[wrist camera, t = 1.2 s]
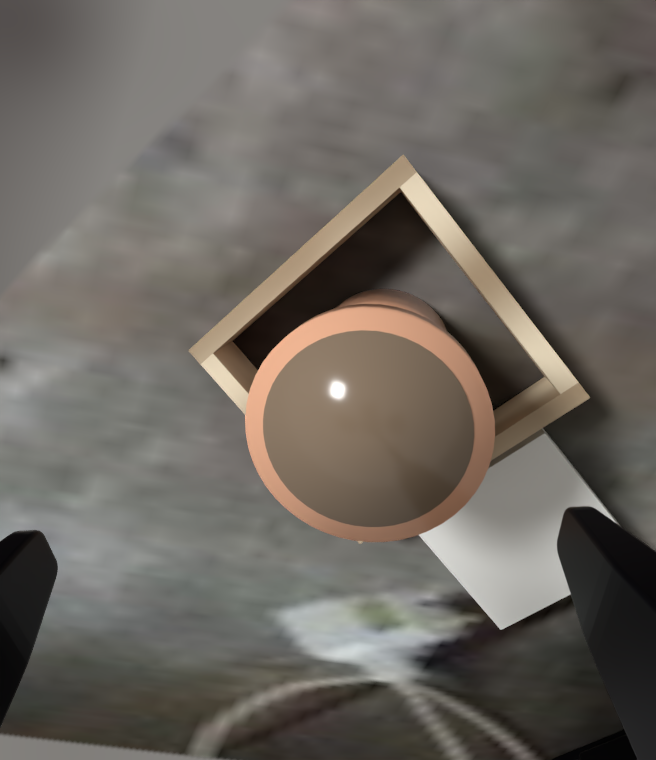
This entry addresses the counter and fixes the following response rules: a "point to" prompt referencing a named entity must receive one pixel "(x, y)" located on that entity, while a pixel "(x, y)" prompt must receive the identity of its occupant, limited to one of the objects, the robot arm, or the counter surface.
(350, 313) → the terracotta pot
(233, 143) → the counter surface
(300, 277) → the beige square frame
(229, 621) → the counter surface
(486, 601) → the stone tile
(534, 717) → the counter surface
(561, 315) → the counter surface
